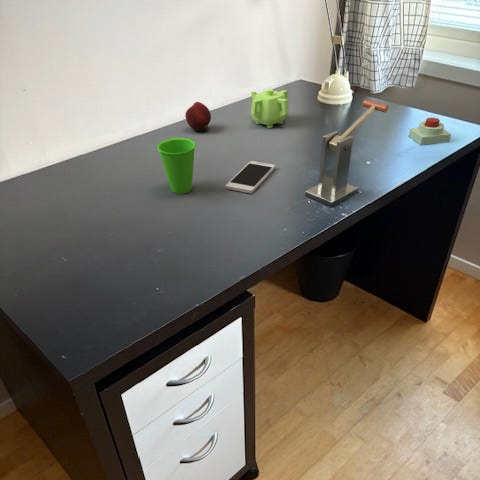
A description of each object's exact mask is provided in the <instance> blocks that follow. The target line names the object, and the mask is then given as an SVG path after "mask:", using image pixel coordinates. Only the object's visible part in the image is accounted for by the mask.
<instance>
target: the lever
mask: <svg viewBox="0 0 480 480" xmlns="http://www.w3.org/2000/svg"><path fill="white" fill-rule="evenodd" d="M362 107H363V108H366V110H365V111H364V112H363V113H362V114H361V115H359V117H358V118H357V119H356V120H355V121H354V122H353V123H352V124H351V125H350V126H349V127H348V128H347V129H346V130H345V131H344V132H343V133H342V134H341V135H336V136H335V137H334V138H333V139H332V140H331V141H330V142H329V147H330V151H331V152H334V153H336V149H337V141H339V140H341V139H343V138H345V137H347V136H353V134H354V133H355V132H356V131H357V130H358V129H359V128H360V127H361V126H362V125H363V124H364V123H365V122H366V121H367V120H368V119H369V118H370V117H371V116H372V115H373V114H374V113H375V112H376V111H377V112H382V113H387V112H388V111H389V109H390V108H389V105H388V104H384V103H380V102H376V101H374V100H369V99H364V100H363V102H362Z"/></svg>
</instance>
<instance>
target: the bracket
mask: <svg viewBox="0 0 480 480" xmlns="http://www.w3.org/2000/svg"><path fill="white" fill-rule="evenodd" d="M339 134H340V131H337V130H333V131H331V132H329V133H327V134H325V135H323V136H322V140H321V141H322V142H321V154H320V164H319V174H318V184H317V185H315V186H313V187H311V188H309V189H307V190H305V193H304V196H305V197H308V198H310V199H312V200H314V201H317V202H319V203H322V204H324V205H326V206H328V207H331V208H333V207H334V206H336V205H338V204H339V203H342V202H343V201H345V200H347V199H349V198H350V197H352V196H354V195H356V194H358V192H359V187H358V186H355V185H352V184H350V183H348V180H349V172H350V165H351V164H350V163H351V156H352V148H353V142H354V136H353V135H351V136H347V137H345V138H343V139H341V140H339V141H337V149H336V153H334V152H331V151H330V147H329V142H330V141H331V140H332V139H333V138H334V137H335V136H336V135H338V136H340V135H339Z"/></svg>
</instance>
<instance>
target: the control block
mask: <svg viewBox="0 0 480 480" xmlns="http://www.w3.org/2000/svg"><path fill="white" fill-rule="evenodd" d="M425 123H426V120H423V121H421V122H419V125H418V127H413V128H411V127H410V128H409V132H408V135H407V136H408V137H409V138H410V139H411V140H413V141H414V142H415V143H417V144H418V145H419V146H425V145H431V144H441V143H448V142H450V140H451V136H452V133H451V132H449V131H447V130H446V129H445V125H444V123H443V122H439V126H438V127H435V128H432V127H427V126H425Z"/></svg>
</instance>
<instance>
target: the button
mask: <svg viewBox="0 0 480 480" xmlns="http://www.w3.org/2000/svg"><path fill="white" fill-rule="evenodd" d="M425 121H426V123H425V126H427V127H432V128H435V127H438V126H439V122H440V121H441V120H440V118H437V117H427V118H426V119H425ZM440 123H441V122H440Z"/></svg>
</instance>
